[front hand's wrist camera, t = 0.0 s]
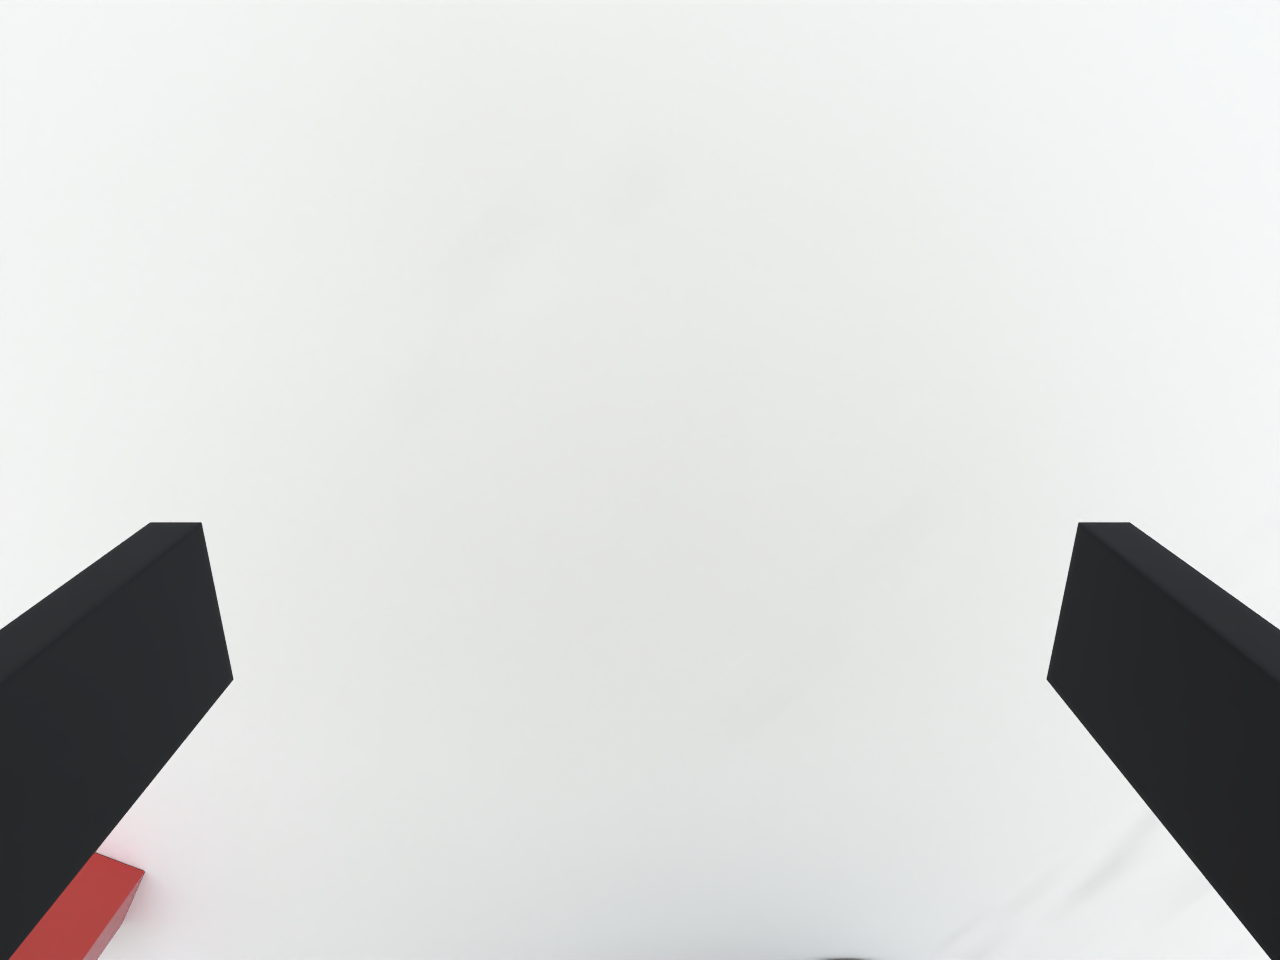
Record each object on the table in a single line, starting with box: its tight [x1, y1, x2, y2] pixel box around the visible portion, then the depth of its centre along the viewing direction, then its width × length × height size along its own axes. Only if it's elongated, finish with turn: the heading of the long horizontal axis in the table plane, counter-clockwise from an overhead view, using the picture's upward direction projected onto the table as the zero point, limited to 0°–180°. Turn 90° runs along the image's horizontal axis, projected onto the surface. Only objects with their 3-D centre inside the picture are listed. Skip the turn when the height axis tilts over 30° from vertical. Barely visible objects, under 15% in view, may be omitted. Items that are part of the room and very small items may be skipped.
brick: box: [9, 853, 144, 960], centre depth 47 cm, size 5×8×9 cm, turn 61°
